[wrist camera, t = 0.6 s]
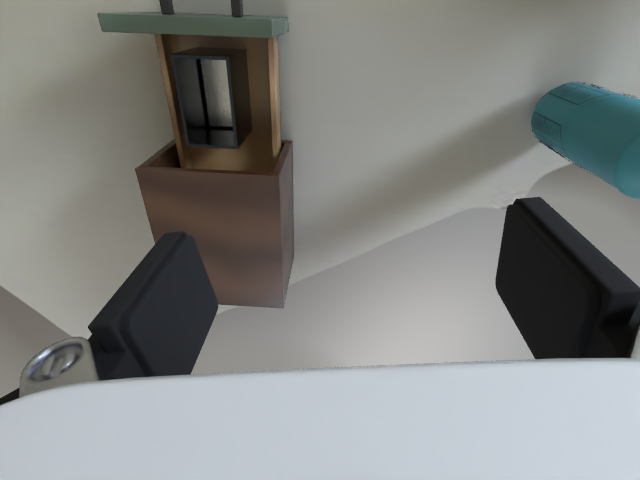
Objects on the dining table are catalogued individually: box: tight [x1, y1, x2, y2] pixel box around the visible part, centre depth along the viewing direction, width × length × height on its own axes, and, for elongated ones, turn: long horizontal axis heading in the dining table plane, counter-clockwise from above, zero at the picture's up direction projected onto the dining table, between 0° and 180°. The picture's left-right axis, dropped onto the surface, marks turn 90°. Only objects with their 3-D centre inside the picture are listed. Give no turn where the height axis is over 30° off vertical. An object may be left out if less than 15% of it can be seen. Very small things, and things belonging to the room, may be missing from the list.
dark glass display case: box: [170, 47, 252, 149], centre depth 35 cm, size 8×5×6 cm, turn 178°
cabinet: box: [135, 139, 294, 308], centre depth 42 cm, size 17×14×11 cm
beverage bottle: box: [531, 81, 640, 199], centre depth 30 cm, size 6×7×20 cm
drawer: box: [98, 0, 288, 173], centre depth 34 cm, size 22×13×10 cm, turn 178°
